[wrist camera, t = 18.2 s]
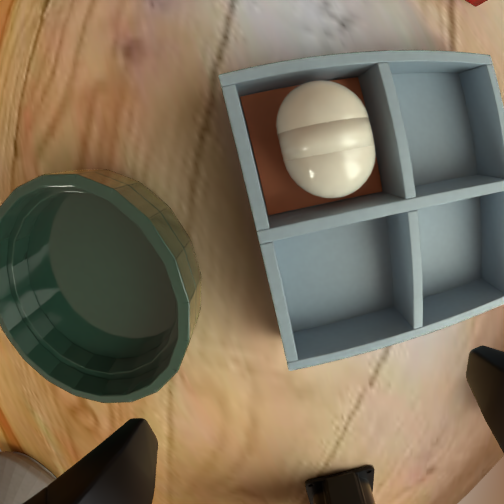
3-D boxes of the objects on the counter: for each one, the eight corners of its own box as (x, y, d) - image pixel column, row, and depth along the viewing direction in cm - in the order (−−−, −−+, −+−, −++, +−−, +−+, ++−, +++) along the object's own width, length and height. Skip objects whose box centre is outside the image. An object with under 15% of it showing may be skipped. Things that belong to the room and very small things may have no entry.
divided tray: (483, 282, 18) (511, 301, 15) (284, 338, 19) (289, 371, 16) (458, 65, 14) (490, 54, 11) (225, 90, 15) (218, 74, 12)
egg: (362, 184, 16) (399, 193, 12) (286, 201, 16) (303, 214, 12) (340, 86, 15) (372, 65, 11) (262, 98, 15) (271, 77, 11)
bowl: (228, 352, 20) (223, 394, 16) (66, 371, 21) (42, 402, 17) (166, 138, 16) (141, 133, 12) (1, 206, 17) (-38, 218, 13)
